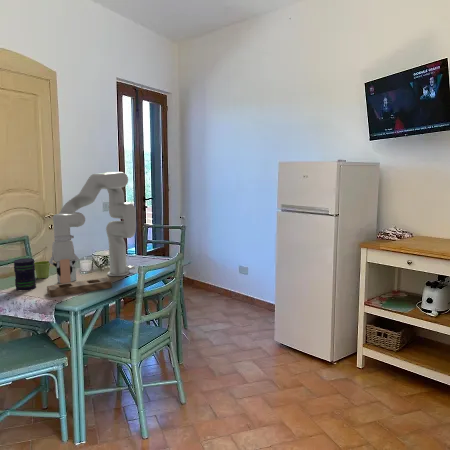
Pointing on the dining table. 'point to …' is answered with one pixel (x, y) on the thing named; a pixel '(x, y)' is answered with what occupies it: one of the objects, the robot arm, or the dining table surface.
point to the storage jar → (25, 274)
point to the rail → (78, 287)
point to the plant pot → (42, 269)
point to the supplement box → (72, 275)
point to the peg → (65, 271)
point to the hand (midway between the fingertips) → (64, 274)
